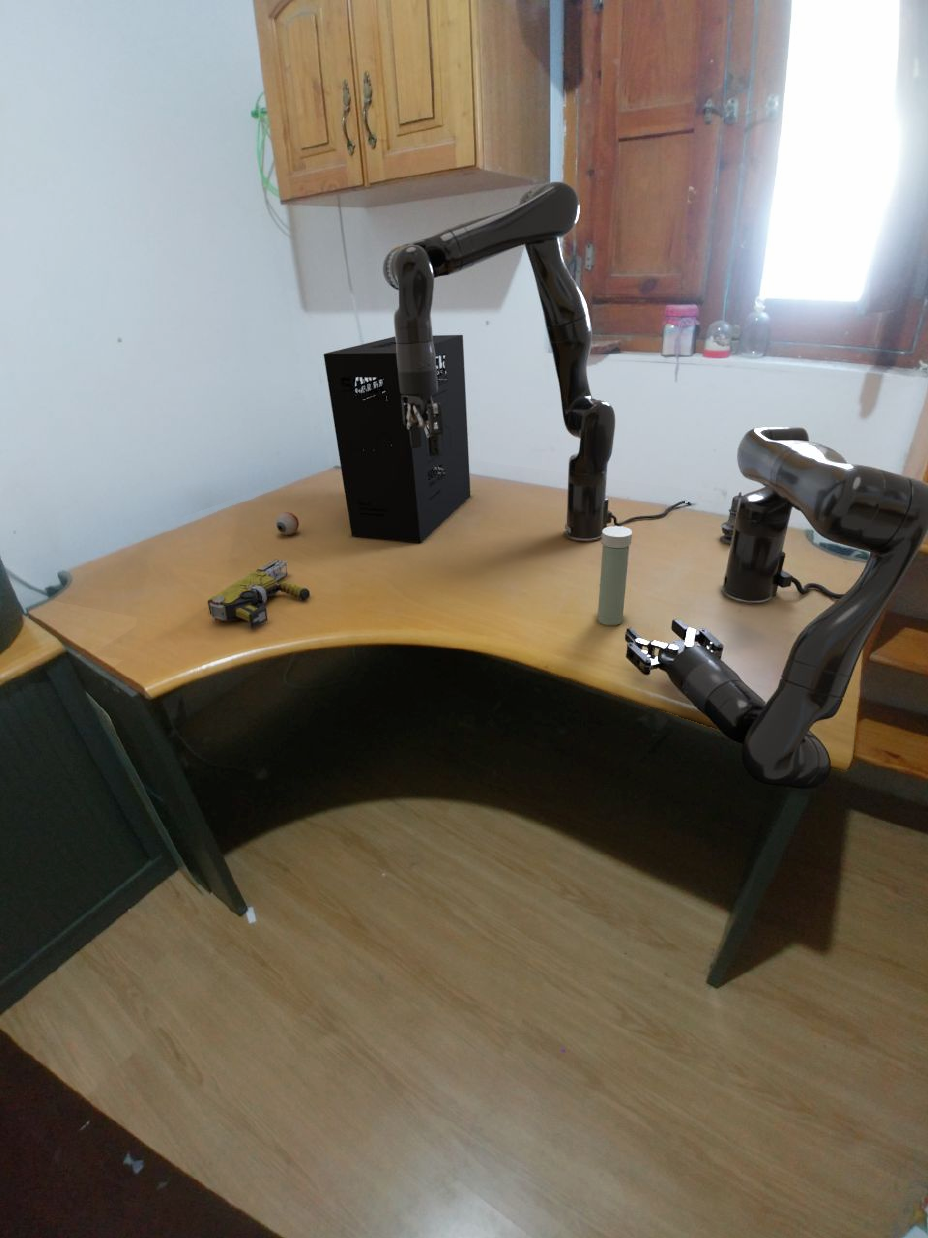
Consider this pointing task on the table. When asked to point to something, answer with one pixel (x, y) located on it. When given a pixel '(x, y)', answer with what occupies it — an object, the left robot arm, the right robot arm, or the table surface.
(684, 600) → the table surface
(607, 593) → the jar
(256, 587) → the toy gun
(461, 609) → the table surface
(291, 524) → the eyeball
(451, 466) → the cardboard box
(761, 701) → the right robot arm
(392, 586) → the table surface
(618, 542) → the lid
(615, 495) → the table surface
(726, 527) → the salt shaker
